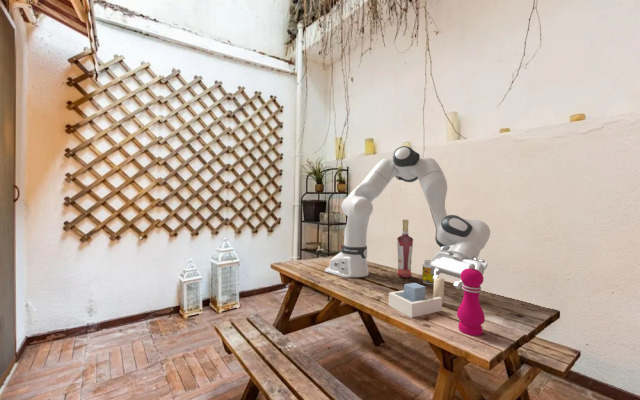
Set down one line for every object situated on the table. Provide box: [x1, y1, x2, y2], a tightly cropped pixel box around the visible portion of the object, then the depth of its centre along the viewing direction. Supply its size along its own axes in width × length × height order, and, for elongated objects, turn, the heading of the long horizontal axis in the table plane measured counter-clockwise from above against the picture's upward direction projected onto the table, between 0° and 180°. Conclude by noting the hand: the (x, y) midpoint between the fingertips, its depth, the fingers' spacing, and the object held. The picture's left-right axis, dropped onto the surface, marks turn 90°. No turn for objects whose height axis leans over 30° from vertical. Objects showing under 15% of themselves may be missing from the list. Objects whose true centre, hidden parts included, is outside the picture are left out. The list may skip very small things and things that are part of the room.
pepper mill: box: [456, 263, 486, 337], centre depth 84 cm, size 7×7×20 cm
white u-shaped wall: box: [388, 289, 443, 318], centre depth 100 cm, size 14×11×4 cm
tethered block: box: [403, 276, 445, 306], centre depth 103 cm, size 16×5×9 cm, turn 116°
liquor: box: [396, 219, 414, 279], centre depth 138 cm, size 7×7×28 cm
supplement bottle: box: [421, 259, 434, 285], centre depth 130 cm, size 6×6×10 cm
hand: (445, 283), depth 106 cm, fingers open, 8 cm apart
